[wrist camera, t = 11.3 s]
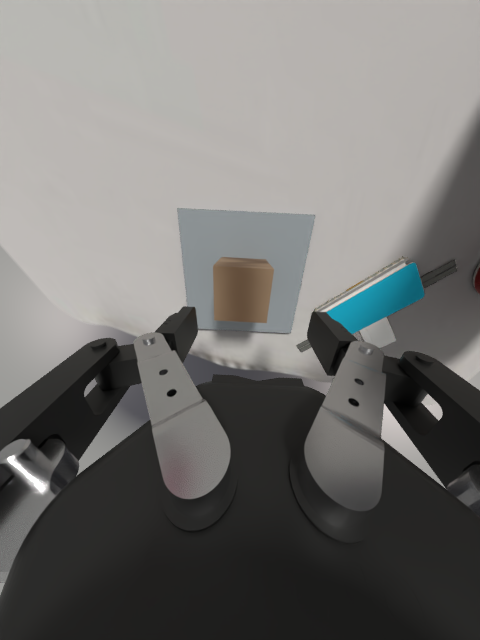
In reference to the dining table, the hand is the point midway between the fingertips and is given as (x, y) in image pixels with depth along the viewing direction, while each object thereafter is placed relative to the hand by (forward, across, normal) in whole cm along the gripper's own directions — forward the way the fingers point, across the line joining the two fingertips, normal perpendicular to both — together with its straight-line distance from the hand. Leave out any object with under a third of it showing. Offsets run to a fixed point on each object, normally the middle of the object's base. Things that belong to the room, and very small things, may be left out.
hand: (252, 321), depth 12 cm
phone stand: (+11, -16, +4) cm, 20 cm away
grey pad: (+10, +1, 0) cm, 10 cm away
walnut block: (+10, +1, 0) cm, 10 cm away
